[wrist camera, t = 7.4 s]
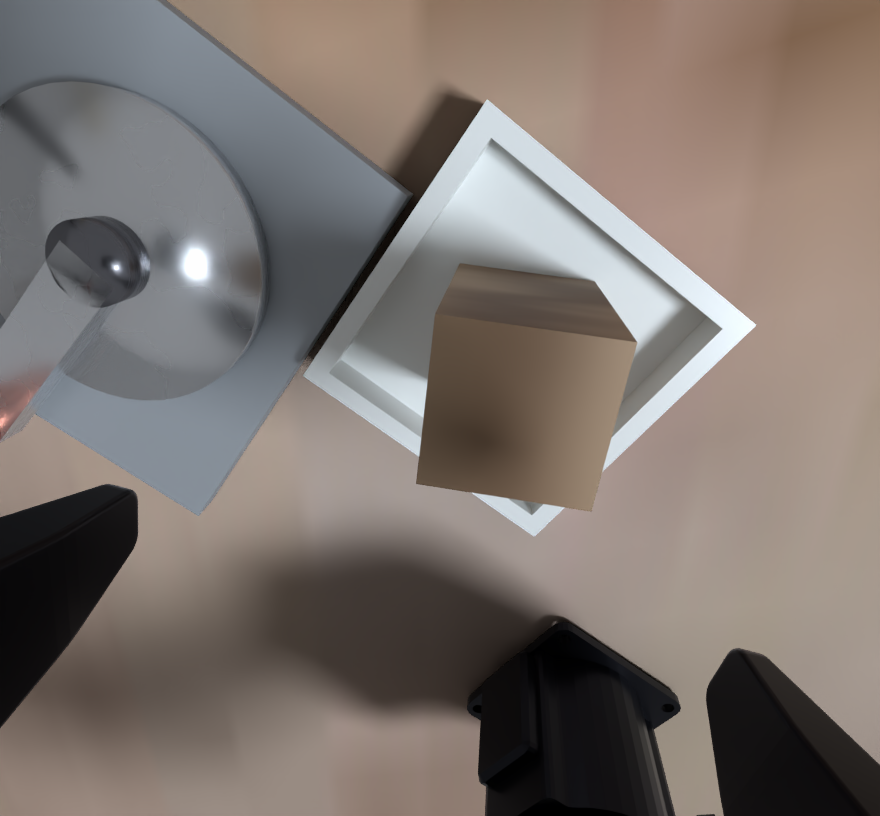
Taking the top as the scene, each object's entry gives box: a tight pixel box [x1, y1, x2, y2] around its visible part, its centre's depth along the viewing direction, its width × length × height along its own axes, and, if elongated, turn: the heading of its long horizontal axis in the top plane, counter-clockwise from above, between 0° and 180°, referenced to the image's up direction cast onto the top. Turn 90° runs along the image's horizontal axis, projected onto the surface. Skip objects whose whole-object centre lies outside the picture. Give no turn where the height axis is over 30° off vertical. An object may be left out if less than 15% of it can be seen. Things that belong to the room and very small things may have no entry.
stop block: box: [416, 263, 637, 511], centre depth 14 cm, size 4×4×6 cm
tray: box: [303, 100, 756, 536], centre depth 17 cm, size 9×9×2 cm
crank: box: [0, 81, 271, 442], centre depth 15 cm, size 13×9×5 cm
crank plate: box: [0, 0, 413, 516], centre depth 16 cm, size 16×14×4 cm
